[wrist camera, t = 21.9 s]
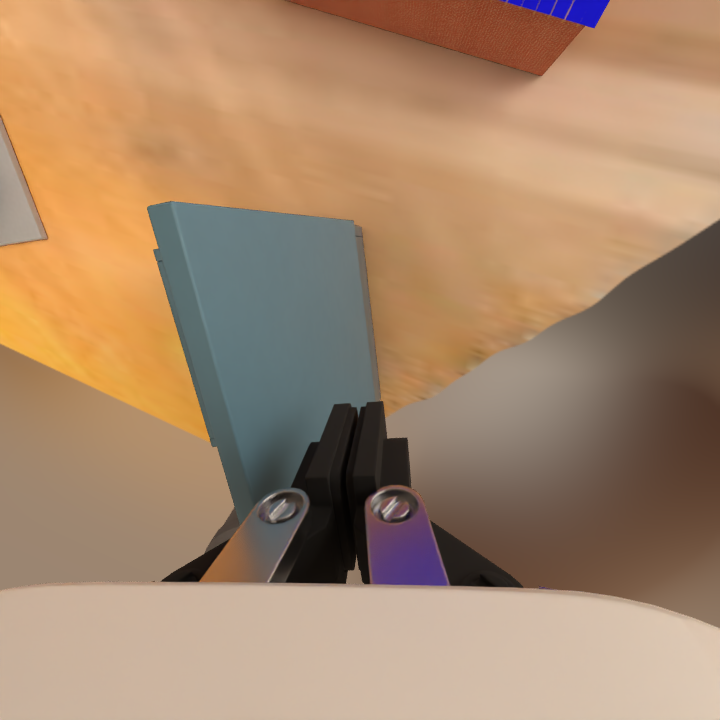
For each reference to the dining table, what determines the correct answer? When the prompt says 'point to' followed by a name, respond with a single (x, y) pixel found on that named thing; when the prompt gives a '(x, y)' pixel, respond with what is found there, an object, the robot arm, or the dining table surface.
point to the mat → (15, 200)
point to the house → (479, 25)
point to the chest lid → (266, 331)
